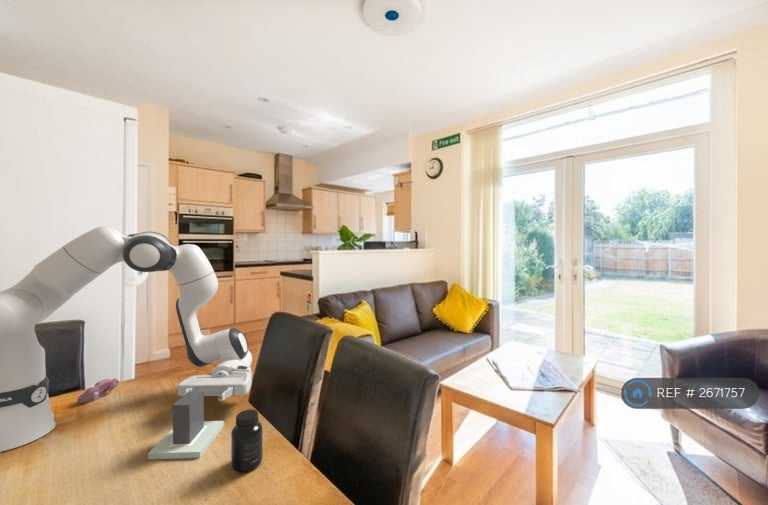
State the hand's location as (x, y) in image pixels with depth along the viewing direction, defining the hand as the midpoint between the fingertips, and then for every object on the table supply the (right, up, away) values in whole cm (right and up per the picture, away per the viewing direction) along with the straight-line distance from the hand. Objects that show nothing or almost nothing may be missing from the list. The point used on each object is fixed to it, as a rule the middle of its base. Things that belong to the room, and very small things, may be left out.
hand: (202, 398), depth 89 cm
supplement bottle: (+19, -9, -14) cm, 25 cm away
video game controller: (-43, -7, +15) cm, 46 cm away
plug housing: (0, -6, -7) cm, 9 cm away
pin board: (0, -8, -7) cm, 10 cm away
